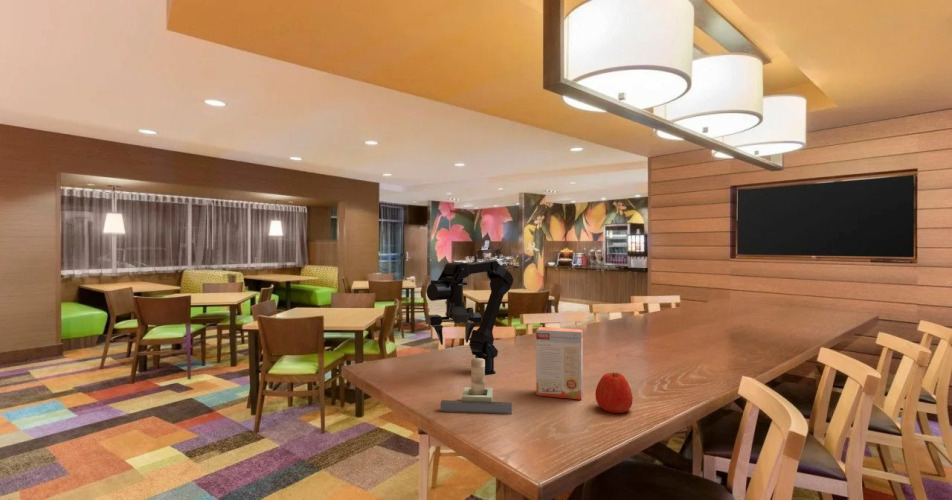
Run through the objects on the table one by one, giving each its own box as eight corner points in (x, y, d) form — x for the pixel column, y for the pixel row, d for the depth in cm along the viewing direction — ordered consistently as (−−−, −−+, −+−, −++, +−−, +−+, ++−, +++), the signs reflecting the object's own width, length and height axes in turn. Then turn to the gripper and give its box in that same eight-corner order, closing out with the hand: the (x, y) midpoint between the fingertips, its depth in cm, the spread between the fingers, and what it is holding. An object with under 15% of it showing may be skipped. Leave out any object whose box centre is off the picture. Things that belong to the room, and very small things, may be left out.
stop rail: (441, 408, 125) (441, 400, 125) (511, 411, 123) (511, 402, 123) (440, 411, 123) (440, 402, 123) (511, 413, 121) (511, 404, 121)
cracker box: (583, 394, 138) (583, 328, 138) (581, 400, 132) (581, 331, 132) (539, 389, 142) (539, 325, 142) (535, 395, 137) (535, 328, 137)
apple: (607, 400, 133) (607, 366, 133) (639, 409, 125) (639, 373, 125) (588, 408, 126) (588, 372, 126) (621, 418, 118) (621, 380, 118)
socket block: (464, 400, 133) (464, 387, 133) (492, 401, 133) (492, 387, 133) (461, 410, 125) (461, 396, 125) (491, 411, 124) (491, 397, 124)
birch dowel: (477, 398, 132) (477, 357, 132) (487, 402, 129) (487, 359, 129) (468, 402, 129) (468, 360, 129) (478, 405, 126) (478, 362, 126)
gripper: (435, 302, 140) (435, 350, 140) (488, 300, 147) (488, 346, 147) (426, 298, 151) (425, 343, 151) (476, 296, 158) (475, 339, 158)
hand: (454, 343), depth 151 cm, fingers open, 9 cm apart
